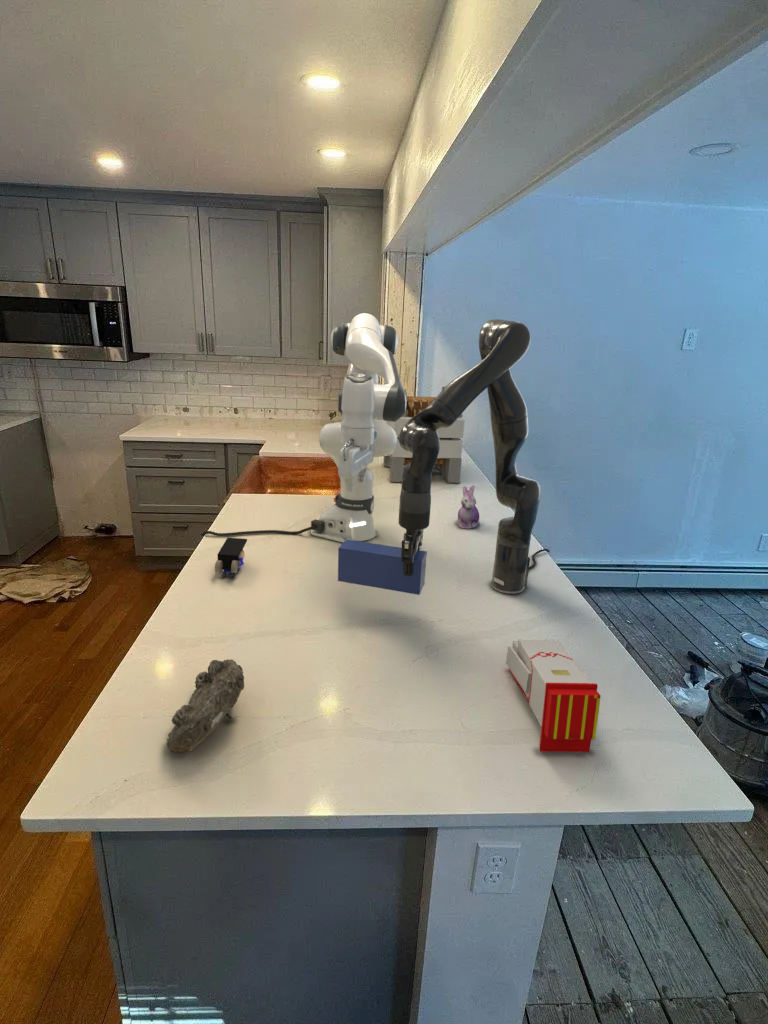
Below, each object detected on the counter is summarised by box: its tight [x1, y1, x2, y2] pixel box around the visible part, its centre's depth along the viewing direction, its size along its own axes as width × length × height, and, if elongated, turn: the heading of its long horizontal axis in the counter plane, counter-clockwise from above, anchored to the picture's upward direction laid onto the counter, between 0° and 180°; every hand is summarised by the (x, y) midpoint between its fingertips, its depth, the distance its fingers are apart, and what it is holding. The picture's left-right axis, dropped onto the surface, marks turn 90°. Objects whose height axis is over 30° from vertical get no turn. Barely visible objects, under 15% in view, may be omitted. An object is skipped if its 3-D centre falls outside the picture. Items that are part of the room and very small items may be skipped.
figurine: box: [456, 484, 480, 530], centre depth 209 cm, size 9×10×15 cm
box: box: [337, 539, 428, 596], centre depth 144 cm, size 22×6×9 cm, turn 74°
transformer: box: [383, 386, 465, 484], centre depth 268 cm, size 34×33×41 cm
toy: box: [505, 638, 602, 753], centre depth 114 cm, size 12×13×30 cm
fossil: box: [166, 658, 245, 754], centre depth 106 cm, size 22×10×15 cm
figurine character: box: [214, 537, 248, 578], centre depth 166 cm, size 7×8×15 cm
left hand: (355, 486), depth 156 cm, fingers open, 8 cm apart
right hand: (411, 569), depth 142 cm, fingers closed on box, 6 cm apart
